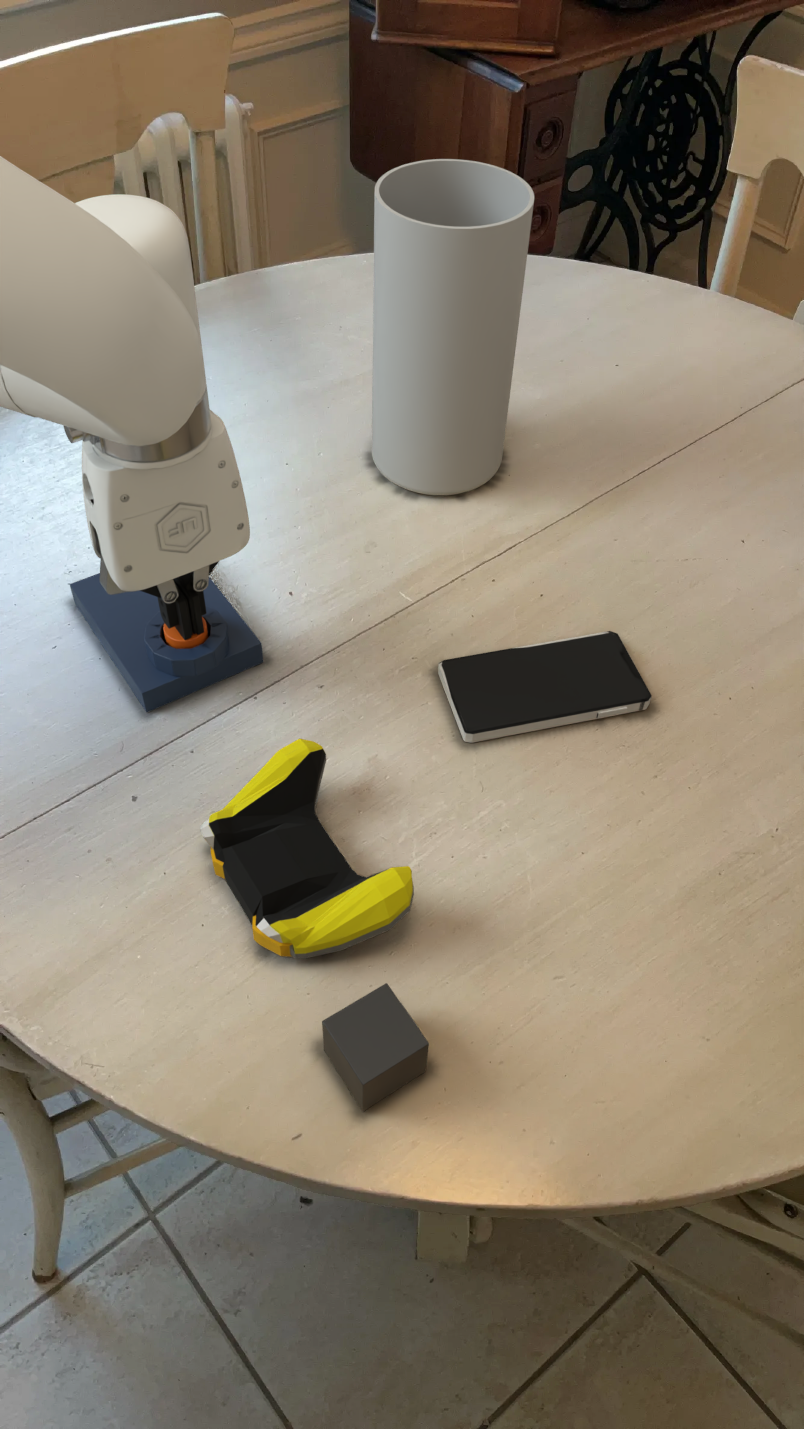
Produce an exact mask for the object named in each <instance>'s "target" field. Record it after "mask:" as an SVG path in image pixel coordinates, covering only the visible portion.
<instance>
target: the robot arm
mask: <svg viewBox="0 0 804 1429" xmlns="http://www.w3.org/2000/svg"><path fill="white" fill-rule="evenodd" d="M191 256H192V255H191V249H190V243H189V238H188V234H187V231H186V228H185V226H184V224H183V222H182V220H181V219H180V217H179V216H178V215H177V214H176V212H175V211H174V210H173V209H171V208H170V207H168V206H167V205H165V204H164V203H162V202H160V201H158V200H156V199H153V198H150V197H146V196H141V195H136V194H123V193H122V194H103V195H98V196H93V197H88V198H85V199H82V200H80V201H77V202H73V201H72V200H71V199H69V198H68V197H67V196H64V195H62V194H61V193H59V192H58V191H56V190H55V189H53V188H52V187H50V186H48V185H47V184H45V183H44V182H41V181H40V180H39V179H37V178H35V176H32V175H31V174H29V173H28V172H26V171H24V170H22V169H21V168H20V167H18V166H17V165H15V164H13V163H12V162H10V161H9V160H7V159H6V158H4V157H3V156H1V155H0V407H1V408H3V409H7V410H9V411H13V412H15V413H19V414H22V415H26V416H29V417H33V418H39V419H41V420H44V421H48V422H51V423H54V424H57V425H61V426H63V430H64V433H65V435H66V437H67V439H68V441H69V443H71V444H74V443H78V442H81V485H82V495H83V503H84V510H85V516H86V522H87V528H88V534H89V538H90V541H91V545H92V548H93V552H94V553H95V555H96V557H97V558H99V559H100V561H99V562H100V564H99V573H100V579H99V581H100V583H101V585H102V586H103V588H104V589H105V590H106V592H107V593H108V594H110V595H114V594H119V593H125V592H131V591H142V592H145V593H148V594H151V595H153V596H156V597H157V598H158V603H159V608H160V613H161V616H162V619H163V621H164V623H165V624H166V626H167V627H168V628H169V629H170V628H172V627H175V628H176V629H177V630H178V632H179V633H180V635H181V636H182V637H183V639H184V640H187V639H189V638H191V636H192V635H193V633H194V634H197V635H199V634H201V633H204V626H203V620H202V615H204V614H206V606H205V599H204V592H203V590H205V589H206V588H207V587H208V584H209V577H210V575H211V574H212V573H213V571H214V569H215V568H216V567H217V565H218V564H219V563H220V562H221V561H223V560H225V559H227V558H230V557H232V556H234V555H237V554H238V553H239V552H241V551H242V550H243V549H245V547H247V545H248V544H249V541H250V538H251V536H250V535H251V527H250V517H249V511H248V505H247V501H246V495H245V491H244V486H243V482H242V478H241V473H240V470H239V465H238V461H237V459H236V455H235V450H234V448H233V445H232V441H231V438H230V436H229V433H228V430H227V428H226V425H225V423H224V421H223V420H222V418H221V417H220V416H218V414H216V413H215V412H214V411H213V410H211V408H210V402H209V401H210V400H209V394H208V392H209V391H208V386H207V379H206V378H207V376H206V368H205V361H204V360H205V359H204V352H203V344H202V343H203V342H202V335H201V329H200V328H201V327H200V320H199V312H198V305H197V296H196V288H195V280H194V271H193V264H192V257H191Z"/></svg>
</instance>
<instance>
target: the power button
mask: <svg viewBox="0 0 804 1429" xmlns="http://www.w3.org/2000/svg"><path fill="white" fill-rule="evenodd" d="M202 620H203V626H204V633H201V634H199V635H197V634H194V633H193V635H192V636H191V638H189V639H187V640H184V639H183V637H182V636H181V635H180V633H179V632H178V630H177V629H176V628H175V627H172V628H170V629H169V628H168V627H167V626H166V624H164V627H163V630H164V635H165V640H166V645H168V646H171V647H173V648H176V649H191V648H194V647H196V646H199V645H201V644H203V643H204V642H205V641H206V640H207V639H208V631H207V625H206V621H205V619H204V618H203V617H202Z"/></svg>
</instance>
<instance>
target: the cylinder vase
mask: <svg viewBox="0 0 804 1429" xmlns="http://www.w3.org/2000/svg"><path fill="white" fill-rule="evenodd" d="M373 201H374V206H373V215H374V216H373V217H374V218H373V286H372V288H373V289H372V290H373V294H372V296H373V297H372V298H373V299H372V300H373V302H372V304H373V305H372V316H373V317H372V374H371V375H372V377H371V378H372V379H371V380H372V382H371V385H372V387H371V388H372V389H371V457H372V460H373V462H374V465H375V467H376V468H377V470H378V471H379V473H380V474H381V475H382V476H383V477H385V478H386V479H387V480H388V481H389V482H391V483H392V484H395V485H396V486H398V487H400V488H402V489H405V490H407V491H409V492H412V493H418V494H423V495H429V496H451V495H453V496H454V495H459V494H463V493H467V492H470V491H472V490H473V491H474V490H475V489H477V488H480V487H481V486H483V485H484V484H486V483H487V482H489V481H490V480H491V479H492V478H493V477H494V476H495V475H496V474H497V472H498V471H499V468H500V466H501V464H502V461H503V460H502V459H503V453H504V446H505V445H504V444H505V436H506V429H507V422H508V412H509V405H510V396H511V389H512V381H513V374H514V365H515V357H516V348H517V343H518V342H517V340H518V332H519V324H520V317H521V308H522V301H523V300H522V299H523V292H524V283H525V277H526V268H527V262H528V261H527V260H528V254H529V244H530V237H531V228H532V222H533V211H534V204H535V193H534V191H533V188H532V187H531V186H530V184H529V183H528V182H527V181H526V180H525V179H524V178H522V177H521V176H519V175H517V174H516V173H513V172H512V171H510V170H507V169H506V168H503V167H500V166H497V165H493V164H491V163H485V162H481V161H475V160H469V159H458V158H436V159H435V158H433V159H424V160H417V161H413V162H412V161H411V162H409V163H405V164H402V165H398V166H396V167H393V168H391V169H390V170H388V171H387V172H385V173H384V174H382V175H381V176H380V177H379V178H378V180H377V181H376V183H375V185H374V200H373Z"/></svg>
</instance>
